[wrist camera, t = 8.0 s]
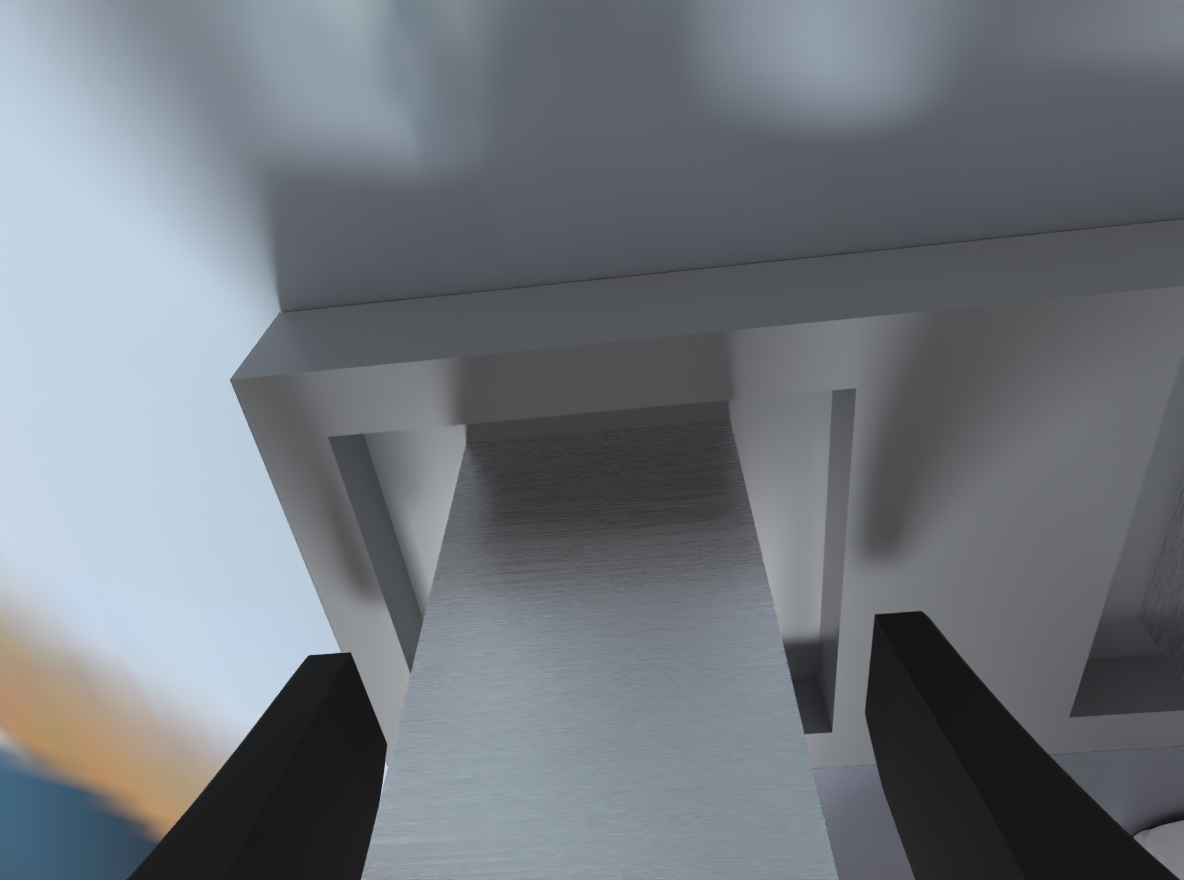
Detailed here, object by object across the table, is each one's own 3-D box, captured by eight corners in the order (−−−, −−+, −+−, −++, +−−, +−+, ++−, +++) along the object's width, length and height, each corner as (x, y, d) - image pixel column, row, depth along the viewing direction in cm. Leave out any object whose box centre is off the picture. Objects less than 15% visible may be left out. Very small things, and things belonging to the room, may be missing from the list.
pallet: (1443, 636, 16) (1541, 724, 14) (418, 706, 17) (398, 793, 16) (1750, 160, 11) (1954, 210, 9) (279, 312, 12) (230, 380, 11)
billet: (735, 650, 15) (818, 1126, 9) (518, 665, 16) (468, 1136, 10) (729, 420, 12) (841, 893, 7) (466, 443, 13) (353, 916, 7)
